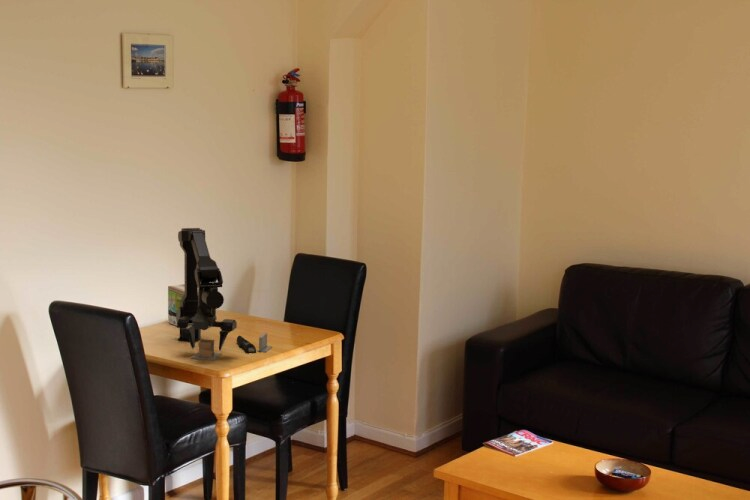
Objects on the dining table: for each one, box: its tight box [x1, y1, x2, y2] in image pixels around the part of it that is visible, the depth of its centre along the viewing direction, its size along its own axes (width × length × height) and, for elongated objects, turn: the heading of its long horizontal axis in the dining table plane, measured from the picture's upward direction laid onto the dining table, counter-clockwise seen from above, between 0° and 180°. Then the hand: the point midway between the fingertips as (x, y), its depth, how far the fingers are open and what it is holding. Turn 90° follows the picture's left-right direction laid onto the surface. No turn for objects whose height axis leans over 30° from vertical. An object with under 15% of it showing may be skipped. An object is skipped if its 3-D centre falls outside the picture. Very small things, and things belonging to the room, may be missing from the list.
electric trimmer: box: [236, 335, 257, 354], centre depth 320 cm, size 4×16×3 cm, turn 23°
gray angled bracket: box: [257, 332, 272, 353], centre depth 319 cm, size 3×7×5 cm, turn 172°
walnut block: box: [198, 338, 215, 358], centre depth 307 cm, size 4×4×5 cm
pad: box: [190, 351, 223, 361], centre depth 307 cm, size 8×8×1 cm
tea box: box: [167, 283, 210, 329], centre depth 349 cm, size 15×10×15 cm
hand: (206, 349), depth 307 cm, fingers open, 9 cm apart
